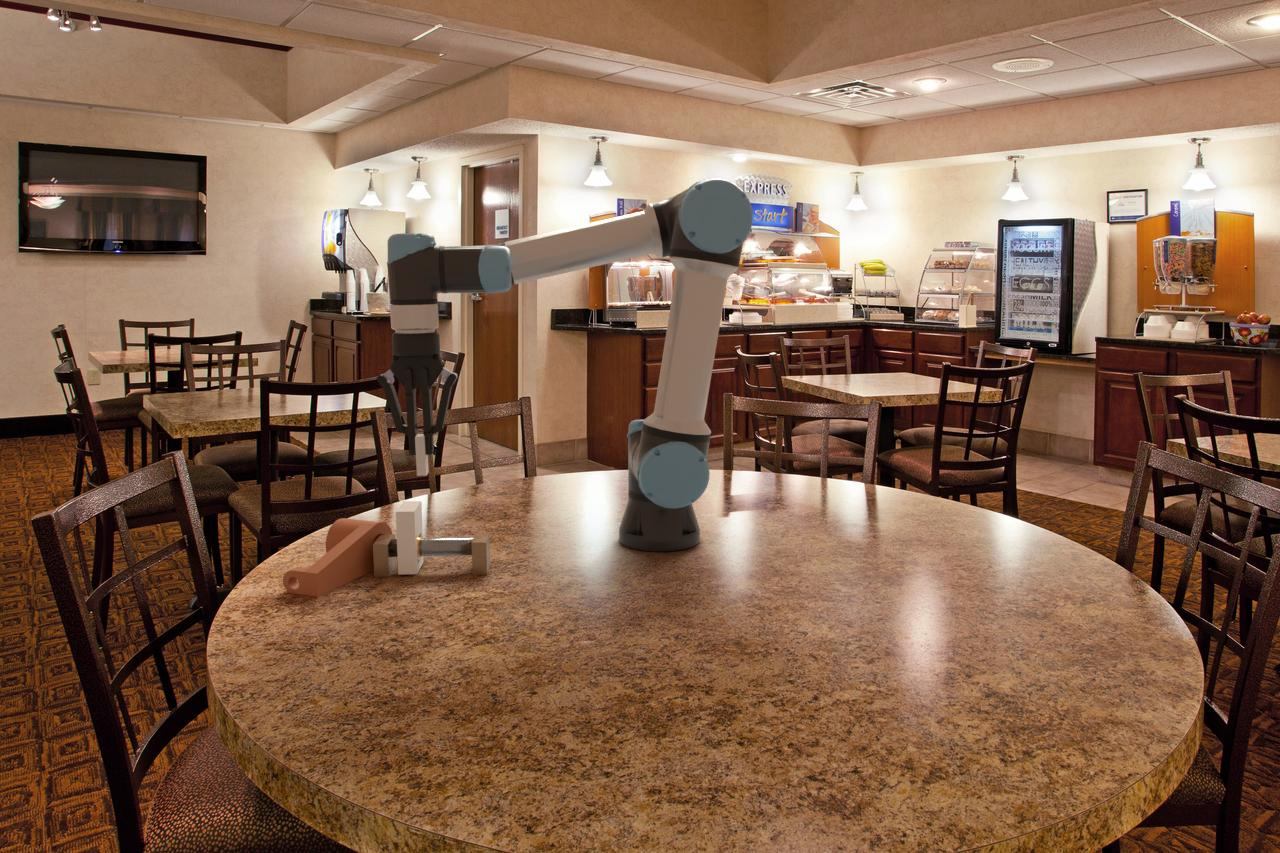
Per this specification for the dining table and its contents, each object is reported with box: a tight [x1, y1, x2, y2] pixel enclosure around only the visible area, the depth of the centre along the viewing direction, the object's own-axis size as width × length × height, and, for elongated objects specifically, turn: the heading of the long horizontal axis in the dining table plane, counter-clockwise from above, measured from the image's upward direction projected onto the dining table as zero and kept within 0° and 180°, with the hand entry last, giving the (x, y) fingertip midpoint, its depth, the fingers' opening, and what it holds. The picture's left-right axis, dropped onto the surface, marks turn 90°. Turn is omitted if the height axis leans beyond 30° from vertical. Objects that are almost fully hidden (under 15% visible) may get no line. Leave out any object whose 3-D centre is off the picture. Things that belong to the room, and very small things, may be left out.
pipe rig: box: [373, 532, 491, 578], centre depth 156 cm, size 18×6×6 cm, turn 94°
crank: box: [282, 517, 393, 598], centre depth 154 cm, size 20×8×8 cm, turn 160°
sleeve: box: [395, 500, 425, 575], centre depth 156 cm, size 3×7×11 cm, turn 4°
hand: (422, 474), depth 154 cm, fingers closed
